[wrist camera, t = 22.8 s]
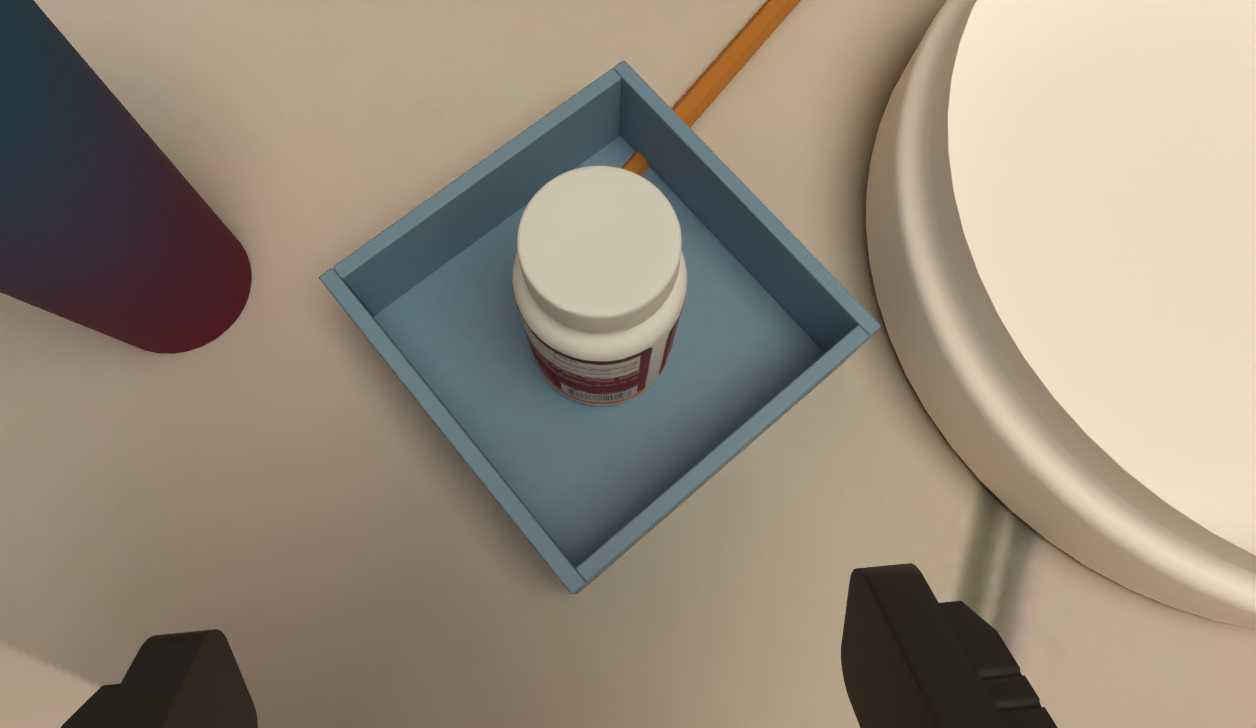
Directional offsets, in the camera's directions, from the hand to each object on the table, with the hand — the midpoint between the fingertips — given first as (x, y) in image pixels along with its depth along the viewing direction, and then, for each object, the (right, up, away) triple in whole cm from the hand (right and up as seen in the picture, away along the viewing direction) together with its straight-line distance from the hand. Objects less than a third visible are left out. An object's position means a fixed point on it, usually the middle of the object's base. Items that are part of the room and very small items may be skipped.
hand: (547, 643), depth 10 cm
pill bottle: (0, +4, +17) cm, 18 cm away
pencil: (+3, +13, +20) cm, 24 cm away
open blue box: (0, +4, +17) cm, 18 cm away
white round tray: (+23, +8, +19) cm, 31 cm away
